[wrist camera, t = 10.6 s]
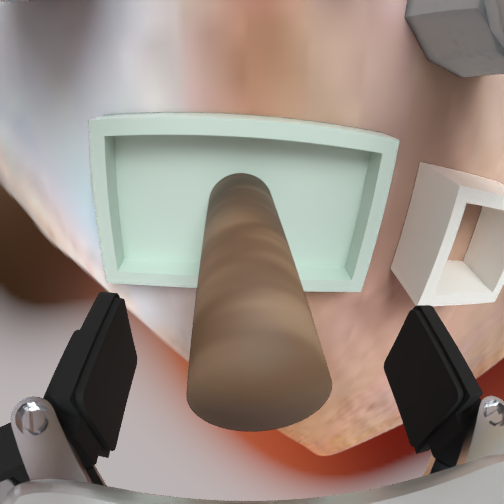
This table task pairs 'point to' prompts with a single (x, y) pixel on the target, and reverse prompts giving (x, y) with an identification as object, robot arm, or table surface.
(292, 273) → the dowel
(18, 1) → the ceramic vessel
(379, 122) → the table surface
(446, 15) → the coffee maker
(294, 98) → the table surface
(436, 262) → the white square ring
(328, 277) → the tray
